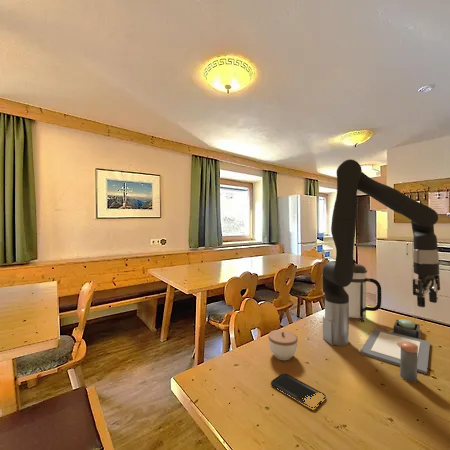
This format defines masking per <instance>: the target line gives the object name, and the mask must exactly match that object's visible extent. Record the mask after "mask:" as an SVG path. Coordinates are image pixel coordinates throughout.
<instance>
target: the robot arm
mask: <svg viewBox="0 0 450 450" xmlns="http://www.w3.org/2000/svg"><path fill="white" fill-rule="evenodd" d="M358 191H360V192H362V193H364V194H365V195H367V196H369V197H371V198H372V199H374V200H376V201H377V202H378V203H380V204H382V205H384V207H387V208H388V209H390V210H392V211H393V212H395V213H397V214H399V215H402V216H404V217H406V218H407V219H408V220H410V223H411V230H412V234H413V239H412V240H413V242H412V243H413V244H412V246H413V251H412V253H413V254H412V259H413V261H412V263H413V264H412V265H413V273H414V274H415V275H418V276H417V278H413V279H412V295H413V296H416V301H417V302H416V304H417V307H419V308H425V307H426V294H427V292H428V301H429V302H430V303H434V304H436V303H438V296H437V295H438V292H439V291H440V290H441V282H440V280H441V279H440V261H439V260H440V256H439V249H438V237H437V235H436V234H435V228H434V227H435V226H434V225H435V224H437V223H438V221H439V213H438V212H437V211H436V210H434V209H433V208H432V207H430V206H428V205H425V204H424V203H422V202H419V201H417V200H414V199H413V198H411V197H410V196H408V195H406V194H404V193H403V192H402V191H399V190H397V189H395V188H394V187H391V186H389V185H386V184H383V183H381V182H379V181H377V180H375V179H373V178H371V177H369V176H368V175H367V174H365V173H364V172H363V170H362V167H361V164H360V163H359V162H358V161H357V160H355V159H349V158H348V159H346V160H343V161H342V162H341V163H340V164H339V165H338V166H337V169H336V197H335V200H334V205H333V210H332V217H331V224H330V225H331V227H330V229H331V230H330V232H331V236H332V240H333V243H334V246H335V253H336V254H335V261H333V260H331V261H328V262H326V263H325V265H324V266H323V268H322V290H323V294H324V316H322V339H323V340H325V342H327V343H328V344H329V345H331V346H333V345H334V346H339V347H341V346H342V347H343V346H347V345H348V344H349V342H350V341H349V336H350V335H349V333H350V332H349V330H350V328H349V326H350V324H349V323H350V321H349V320H350V317H349V295H348V294H347V293H346V291H345V290H344V288H343V287H346V286H348V285H349V284H350V283H351V281H352V279H353V273H354V264H355V263H354V264H353V259H354V251H355V250H354V249H355V238H356V237H355V235H356V229H357V218H358V201H357V200H358V199H357V198H358V197H357V195H358V194H357V193H358Z"/></svg>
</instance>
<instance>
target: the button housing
mask: <svg viewBox="0 0 450 450" xmlns="http://www.w3.org/2000/svg"><path fill="white" fill-rule="evenodd" d="M399 320H400V319H396V320H395V322H394V324H393V328H392V331H391V332H392V333H396V334H400V335H404V336H408V337H413V338H417V339H421V336H422V330H421V327H420V326H421V325H420V324H419V323H415V329H414V330H413V329H409V328H404V327H400V326H399Z"/></svg>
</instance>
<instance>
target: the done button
mask: <svg viewBox="0 0 450 450" xmlns="http://www.w3.org/2000/svg"><path fill="white" fill-rule="evenodd" d="M398 320H399V326H400V327H404V328H409V329H413V330H414V329H415V324H416V323H415V322H414V321H411V320H410V319H409V320H408V319H405V318H404V319H398Z"/></svg>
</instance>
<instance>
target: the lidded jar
mask: <svg viewBox="0 0 450 450" xmlns="http://www.w3.org/2000/svg"><path fill="white" fill-rule="evenodd" d="M298 339H299V338H298V336H297V334H296V333H294V332H293V331H291V330H286V329H275V330H272V331H270V332H269V333H268V345H269V349H270V352H271V353H272V354H273V355H274V357H275V358H276V359H277V360H279V361H288V360H292V359H291V358H293V357H294V355H295V354H296V352H297V348H298Z"/></svg>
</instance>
